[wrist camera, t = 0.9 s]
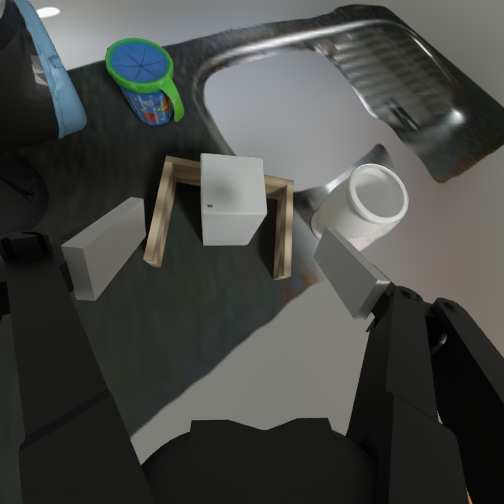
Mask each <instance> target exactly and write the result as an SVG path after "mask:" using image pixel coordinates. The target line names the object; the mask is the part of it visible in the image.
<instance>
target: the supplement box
mask: <svg viewBox="0 0 504 504" xmlns="http://www.w3.org/2000/svg"><path fill="white" fill-rule="evenodd" d="M266 215H267V205H266V194H265V183H264V171H263V163H262V159H261V158H252V157H238V156H227V155H218V154H205V153H201V217H202V234H203V245H247V244H248V243H249V241H250V240H251V238H252V237H253V235H254V233H255V232H256V230H257V229H258V227H259V226H260V224H261V223H262V221H263V219H264V218H265V216H266Z"/></svg>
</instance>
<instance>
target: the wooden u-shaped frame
mask: <svg viewBox="0 0 504 504" xmlns="http://www.w3.org/2000/svg"><path fill="white" fill-rule="evenodd" d="M177 182H180V183H185V184H191V185H197V186H201V162H196V161H191V160H186V159H181V158H176V157H171V156H166V159H165V164H164V168H163V173H162V177H161V182H160V187H159V191H158V196H157V200H156V205H155V209H154V214H153V218H152V223H151V227H150V232H149V236H148V241H147V246H146V250H145V255H144V260H145V261H146V262H148V263H149V264H151V265H152V266H154V267H160V266H161V261H162V256H163V251H164V246H165V241H166V236H167V231H168V226H169V221H170V215H171V210H172V205H173V200H174V195H175V190H176V185H177ZM264 183H265V194H266V198H270V199H276V200H278V202H277V221H276V240H275V260H274V280H281V279H284V278H286V277H289V276H291V246H292V213H293V180H288V179H283V178H278V177H273V176H268V175H264Z"/></svg>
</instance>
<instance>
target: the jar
mask: <svg viewBox="0 0 504 504" xmlns="http://www.w3.org/2000/svg"><path fill="white" fill-rule="evenodd" d="M407 209H408V195H407V191H406V189H405V187H404V185H403V183H402V182H401V180H400V179H399V178H398V177H397V176H396V175H395V174H394V173H393V172H392V171H390V170H389V169H387V168H385V167H383V166H380V165H376V164H366V165H362V166H360V167H358V168H357V169H356V170H354V171H353V172H352V173H351V175H350V176H349V178H348V179H346V180H345V181H343V182H342V183H341V184H339V185H338V186H337V187H336V188H334V189H333V190H332V191H331V193H330V194H329V195H328V196H327V198H326V199H325V201H324V202H323V203H322V205H321V206H320V208H319V210H318V211H317V212H315V213H314V215H313V216H312V219H311V228H312V231H313V233H314V234H315V236H316V237H317V238H318V239H319V240H320V239H321V237H322V234H323V231H324V229H325V227H332V228H335V229H336V230H337V231H338V232H339V233H340V234H341V235H342V236H343V237H345V238H346V239H347V240H350V239H353V238H359V237H362V236H365V235H368V234H370V233H372V232H374V231H376V230H378V229H379V228H381V227H382V226H384V225H388V224H392V223H394V222H396V221H398V220H400V219H401V218H402V217H403V216H404V215H405V213H406V211H407Z"/></svg>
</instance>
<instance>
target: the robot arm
mask: <svg viewBox="0 0 504 504" xmlns="http://www.w3.org/2000/svg"><path fill="white" fill-rule="evenodd" d="M86 123H87V116H86V113H85V111H84V108H83V106H82V103H81V101H80V99H79V97H78V94H77V92H76V90H75V88H74V86H73V84H72V82H71V80H70V78H69V76H68V73H67V71H66V69H65V68H64V66H63V64H62V63H61V60H60V58H59V56H58V54H57V52H56V49H55V47H54V45H53V43H52V41H51V39H50V37H49V35H48V33H47V31H46V29H45V27H44V25H43V23H42V22H41V20H40V18H39V16H38V14H37V12H36V11H35V9H34V7H33V6H32V4H31V3H29V1H27V0H0V153H4V152H8V151H12V150H15V149H19V148H23V147H27V146H31V145H35V144H39V143H42V142H46V141H50V140H54V139H61V138H63V137H64V136H65V135H68V134H71V133H74V132H77V131H79V130H82V129H83V128H84V127H85V125H86ZM47 205H48V191H47V188H46V186H45V184H44V182H43V180H42V179H41V178H40V177H39V176H38V175H37V174H36V173H35V172H33V171H32V170H31V169H29V168H28V167H27V166H25V165H24V164H22V163H20V162H19V161H17V160H15V159H12V158H10V157H7V156H5V155H2V154H0V253H1V256H2V258H3V260H4V262H1V263H0V321H1V319H2V317H3V315H4V314H11V320H12V329H13V337H14V345H15V353H16V361H17V370H18V378H19V386H20V394H21V402H22V410H23V419H24V427H25V441H24V442H23V443H22V444H21V445H20V449H19V469H20V479H21V489H22V500H23V504H469V500H468V495H467V491H468V493H469V496H470V498H471V501H472V504H504V358H503V357H502V355H501V354H500V353H499V352H498V350H497V349H496V348H495V346H494V345H493V344H492V343H491V342H490V340H489V339H488V338H487V336H486V335H485V334H484V333H483V331H482V330H481V329H480V328H479V326H478V325H477V324H476V323H475V321H474V320H473V319H472V318H471V316H470V315H469V314H468V312H467V311H466V310H465V309H463V308H462V307H461V306H459V304H457V303H455V302H454V301H452V300H448V299H445V298H437V299H436V301H435V302H434V303H433V304H430V303H427V302H424V301H423V299H422V297H421V296H420V295H418V294H417V293H416V292H414V291H412V290H411V289H409V288H406V287H402V286H396V285H394V284H393V283H392V282H391V281H390V280H389V279H388V278H387V277H386V276H385V275H383V273H382V272H381V271H379V269H378V268H377V267H376V266H375V265H373V264H372V263H371V262H370V261H368V260H367V259H366V258H365V257H364V256H363V255H362V254H361V253H360V252H359V251H358V250H357V249H356V248H355V247H354V246H353V245H352V244H351V243H350V242H349V241H348V240H347V239H346V238H345V237H343V236H342V235H341V234H340V233H339V232H338V231H337V230H336V229H335V228H332V227H325V229H324V231H323V234H322V237H321V239H320V242H319V244H318V247H317V249H316V252H315V254H314V258H315V260H316V261H317V263H318V264H319V266H320V267H321V269H322V271H323V272H324V274H325V275H326V277H327V278H328V280H329V281H330V283H331V284H332V286H333V287H334V289H335V290H336V292H337V294H338V295H339V297H340V298H341V299H342V301H343V303H344V304H345V306H346V307H347V309H348V311H349V312H350V314H351V315H352V317H353V318H354V319H363V320H366V319H367V317H368V316H369V314H370V313H371V312H372V313H373V314H374V316H375V318H374V320H373V321H372V323H371V324H370V326H369V327H368V329H367V330H366V332H368V331H370V333H369V337H368V342H367V346H366V351H365V355H364V360H363V364H362V369H361V373H360V378H359V382H358V387H357V391H356V396H355V400H354V405H353V409H352V414H351V418H350V423H349V427H348V431H347V433H346V436H344V435H342V434H340V433H338V432H336V431H334V430H332V428H331V425H330V423H329V420H328V418H297V419H294V420H292V421H289V422H287V423H284V424H282V425H279V426H276V427H274V428H271V429H269V430H260V429H257V428H254V427H250V426H247V425H243V424H240V423H237V422H234V421H230V420H192V421H191V428H190V432H187V433H185V434H182V435H180V436H178V437H176V438H174V439H172V440H170V441H169V442H167V443H166V444H164V445H163V446H161V447H160V448H159V449H158V450H156V451H155V452H154V453H153V454H152V455H151V456H150V457H149V458H148V459H147V460H146V461H145V462H144V463H143V464H142V465H140V463H139V460H138V457H137V455H136V453H135V450H134V448H133V445H132V443H131V440H130V438H129V435H128V433H127V430H126V428H125V425H124V423H123V421H122V418H121V416H120V413H119V411H118V408H117V406H116V403H115V401H114V399H113V396H112V394H111V392H110V391H109V390H108V388H107V386H106V383H105V381H104V378H103V376H102V373H101V371H100V368H99V366H98V363H97V361H96V358H95V356H94V353H93V351H92V348H91V346H90V343H89V341H88V338H87V336H86V333H85V331H84V328H83V326H82V323H81V321H80V318H79V316H78V313H77V311H76V308H75V306H74V303H73V301H72V298H71V296H70V292H71V291H72V290H73V289H74V293H75V296H76V299H78V300H92V301H96V299H97V298H98V297H99V295H100V294H101V293H102V292H103V290H104V289H105V288H106V286H107V285H108V284H109V283H110V281H111V280H112V279H113V277H114V276H115V275H116V274H117V272H118V271H119V270H120V268H121V267H122V266H123V265H124V263H125V262H126V261H127V260H128V258H129V257H130V256H131V254H132V253H133V252H134V251H135V249H136V248H137V247H138V245H139V244H140V243H141V242H142V240H143V239H144V238H145V236H146V232H145V217H144V201H143V199H140V198H134V197H130V198H129V199H127V200H126V201H125V202H123V203H122V204H120V205H119V206H117V207H116V208H115V209H113V210H112V211H110V212H109V213H107V214H106V215H104V216H103V217H102V218H100V219H99V220H97V221H96V222H94V223H93V224H92V225H90V226H82V227H79V228H76V229H74V230H72V231H71V232H69V233H68V234H67V235H65V236H63V237H61V239H58V240H57V241H55V242H54V243H52V244H50V241H49V238H48V235H47V234H46V233H45V232H42V231H37V230H31V229H32V228H33V227H34V226H35V225H36V224H37V223H38V222H39V221H40V219H41V218H42V217H43V215H44V213H45V211H46V208H47ZM445 339H446V341H445V343H444V344H442V342H443V341H444V340H445ZM437 411H438V413H439V416H440V419H441V421H442V424H443V425H442V424H441V423H439V421H438V415H437V414H438V413H437ZM466 488H467V490H466Z"/></svg>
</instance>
